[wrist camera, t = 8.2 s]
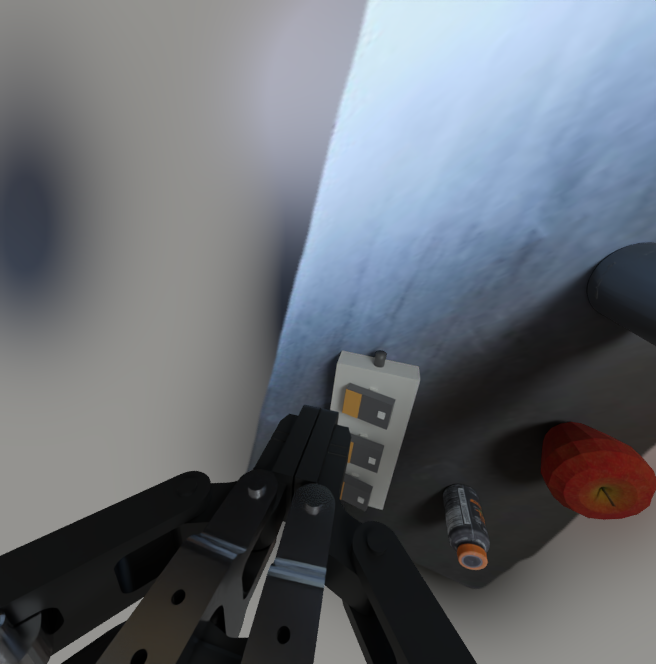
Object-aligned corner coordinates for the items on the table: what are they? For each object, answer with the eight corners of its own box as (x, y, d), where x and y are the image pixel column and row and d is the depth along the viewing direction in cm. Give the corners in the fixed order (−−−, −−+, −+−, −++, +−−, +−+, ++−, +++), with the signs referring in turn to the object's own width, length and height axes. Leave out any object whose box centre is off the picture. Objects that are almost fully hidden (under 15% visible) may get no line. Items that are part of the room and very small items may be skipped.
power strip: (421, 355, 46) (423, 370, 42) (383, 490, 58) (382, 512, 54) (343, 339, 48) (337, 352, 44) (322, 474, 60) (316, 493, 56)
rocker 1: (395, 399, 43) (392, 406, 42) (389, 423, 45) (386, 430, 43) (350, 382, 45) (345, 388, 44) (345, 406, 47) (341, 412, 46)
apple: (627, 421, 43) (703, 497, 32) (576, 470, 48) (627, 550, 37) (551, 391, 44) (601, 455, 33) (508, 442, 48) (539, 512, 38)
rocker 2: (384, 445, 47) (382, 453, 46) (379, 465, 49) (376, 474, 47) (341, 430, 49) (338, 437, 47) (338, 450, 51) (334, 458, 49)
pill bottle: (482, 504, 55) (500, 574, 44) (448, 508, 57) (458, 576, 47) (471, 480, 53) (488, 547, 43) (437, 485, 55) (445, 550, 45)
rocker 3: (373, 486, 51) (369, 495, 49) (368, 504, 53) (365, 512, 51) (335, 468, 53) (330, 476, 52) (331, 485, 55) (327, 493, 53)
